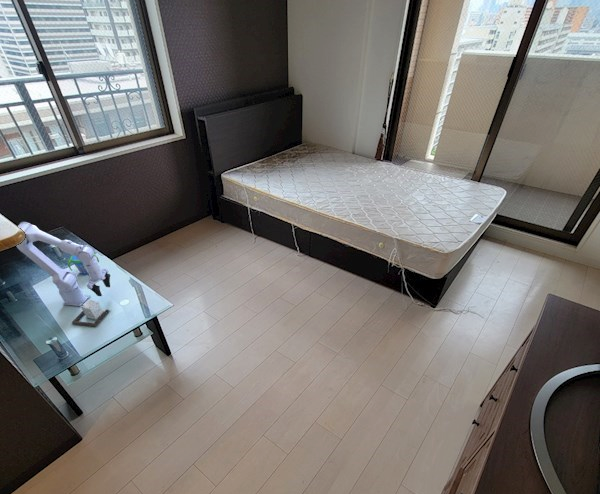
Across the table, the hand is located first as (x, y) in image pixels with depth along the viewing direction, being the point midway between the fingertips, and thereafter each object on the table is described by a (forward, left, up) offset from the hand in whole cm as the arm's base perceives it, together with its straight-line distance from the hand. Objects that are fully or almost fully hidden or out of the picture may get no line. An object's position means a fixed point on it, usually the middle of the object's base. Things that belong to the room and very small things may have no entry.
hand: (104, 291), depth 178 cm
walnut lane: (+1, -14, -5) cm, 15 cm away
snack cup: (-26, +22, -5) cm, 35 cm away
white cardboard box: (+2, -13, -5) cm, 14 cm away
